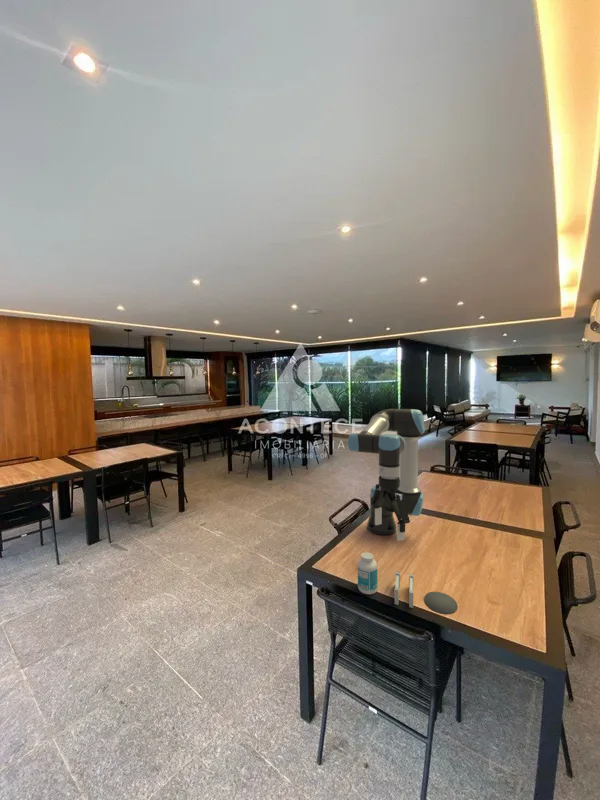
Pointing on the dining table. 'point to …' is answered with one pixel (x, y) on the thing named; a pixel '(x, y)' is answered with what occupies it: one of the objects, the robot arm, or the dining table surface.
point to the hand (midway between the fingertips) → (388, 531)
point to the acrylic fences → (399, 587)
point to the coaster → (440, 602)
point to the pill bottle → (367, 574)
